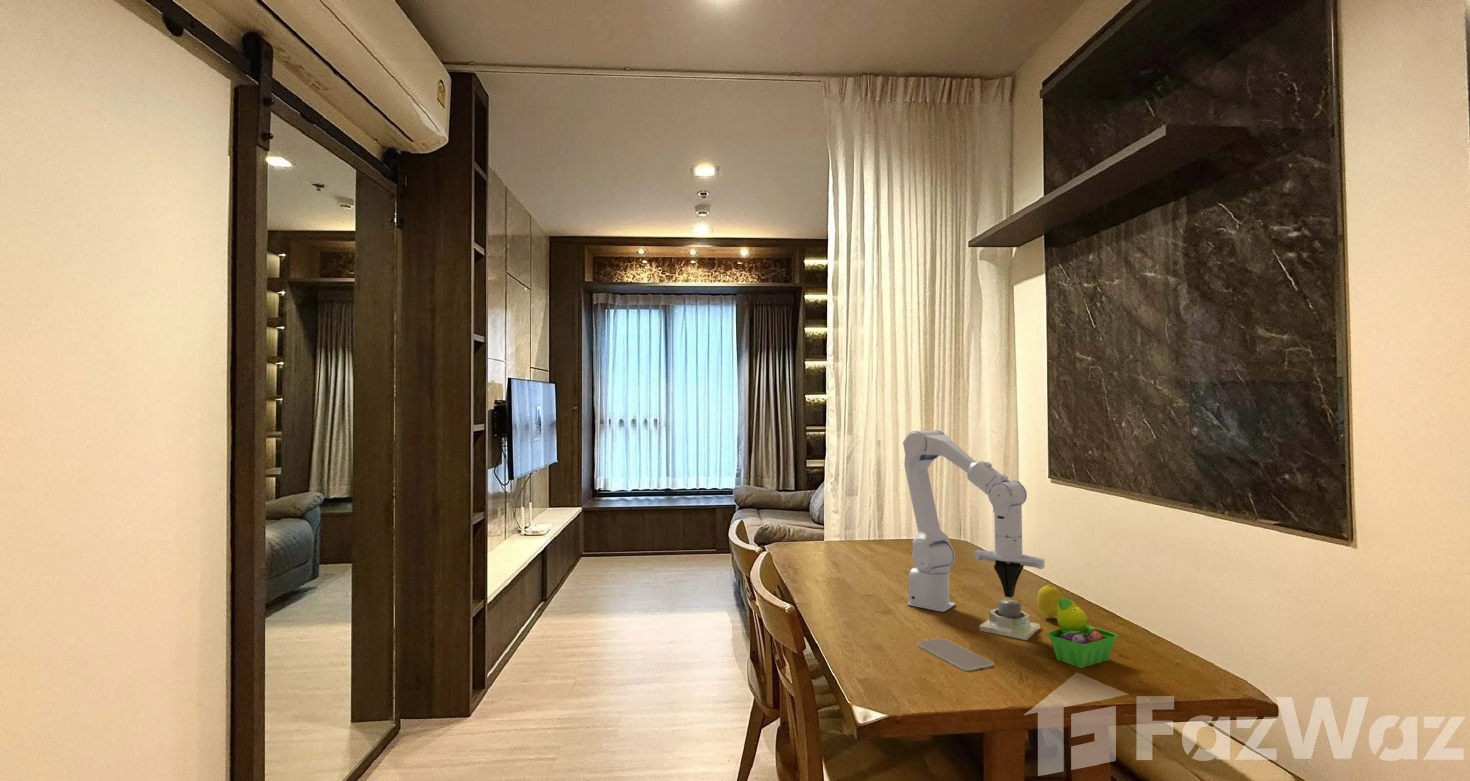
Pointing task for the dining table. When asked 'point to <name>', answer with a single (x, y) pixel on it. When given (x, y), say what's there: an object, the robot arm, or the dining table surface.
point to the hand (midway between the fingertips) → (1009, 596)
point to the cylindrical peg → (1009, 608)
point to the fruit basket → (1079, 637)
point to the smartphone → (955, 654)
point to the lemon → (1048, 600)
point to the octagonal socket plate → (1010, 625)
